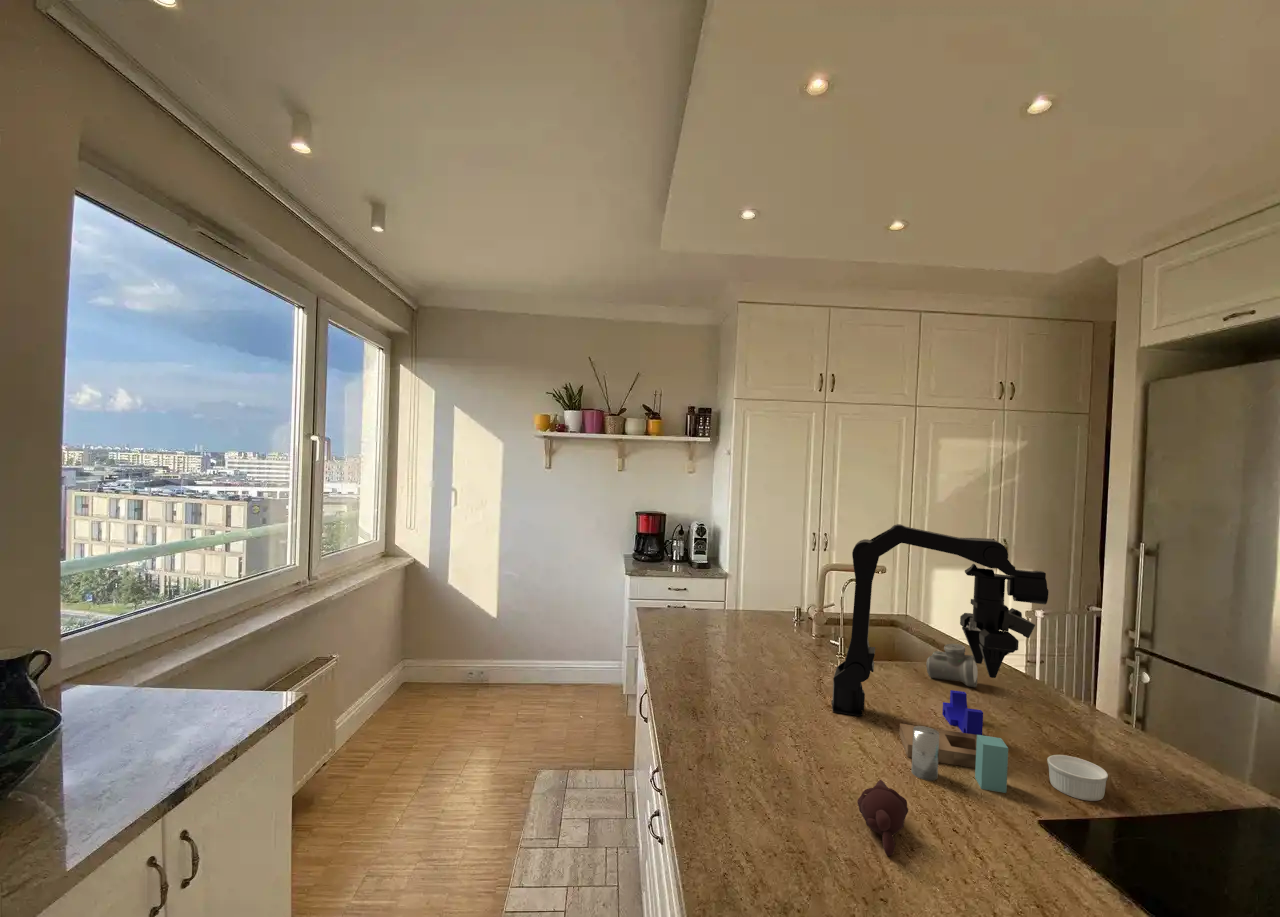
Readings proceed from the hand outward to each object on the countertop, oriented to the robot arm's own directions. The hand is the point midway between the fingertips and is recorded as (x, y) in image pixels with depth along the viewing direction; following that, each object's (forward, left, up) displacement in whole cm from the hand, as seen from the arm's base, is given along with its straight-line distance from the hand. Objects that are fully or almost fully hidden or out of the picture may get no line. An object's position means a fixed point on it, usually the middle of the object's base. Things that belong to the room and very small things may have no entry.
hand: (985, 670), depth 129 cm
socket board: (-10, -11, -14) cm, 20 cm away
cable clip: (-3, +4, -15) cm, 15 cm away
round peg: (-16, -22, -14) cm, 31 cm away
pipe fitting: (+1, +35, -15) cm, 38 cm away
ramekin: (+10, -18, -15) cm, 26 cm away
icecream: (-25, -43, -14) cm, 52 cm away
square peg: (-5, -22, -14) cm, 27 cm away
